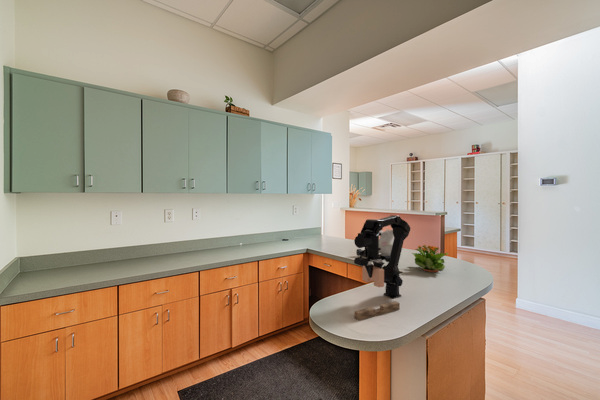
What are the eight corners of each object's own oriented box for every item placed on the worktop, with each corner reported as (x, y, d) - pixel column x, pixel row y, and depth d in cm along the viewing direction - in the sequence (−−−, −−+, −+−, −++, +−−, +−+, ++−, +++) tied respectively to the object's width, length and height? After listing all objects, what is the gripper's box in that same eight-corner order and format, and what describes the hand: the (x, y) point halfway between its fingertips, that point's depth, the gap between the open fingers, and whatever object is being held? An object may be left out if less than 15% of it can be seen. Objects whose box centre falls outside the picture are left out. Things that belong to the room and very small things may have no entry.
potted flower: (454, 276, 174) (455, 249, 174) (415, 275, 179) (415, 248, 179) (442, 266, 199) (442, 242, 198) (408, 265, 204) (408, 241, 203)
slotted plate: (367, 279, 140) (367, 263, 139) (384, 286, 129) (384, 269, 129) (362, 280, 138) (362, 264, 138) (379, 287, 127) (379, 270, 127)
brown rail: (395, 307, 129) (395, 301, 129) (399, 309, 127) (399, 302, 127) (354, 318, 118) (354, 311, 118) (358, 320, 116) (358, 313, 116)
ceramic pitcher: (372, 259, 228) (372, 229, 225) (372, 252, 247) (372, 225, 244) (399, 260, 223) (400, 230, 220) (397, 253, 242) (397, 225, 239)
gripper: (376, 241, 144) (376, 270, 145) (347, 244, 136) (347, 275, 136) (391, 244, 134) (391, 276, 135) (361, 248, 126) (361, 281, 127)
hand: (372, 277), depth 133 cm, fingers closed on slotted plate, 3 cm apart
